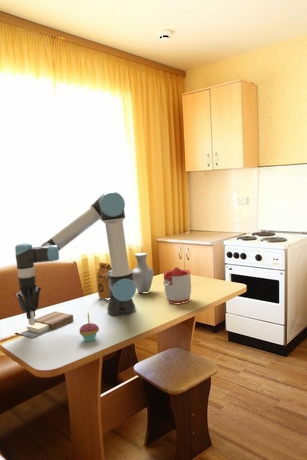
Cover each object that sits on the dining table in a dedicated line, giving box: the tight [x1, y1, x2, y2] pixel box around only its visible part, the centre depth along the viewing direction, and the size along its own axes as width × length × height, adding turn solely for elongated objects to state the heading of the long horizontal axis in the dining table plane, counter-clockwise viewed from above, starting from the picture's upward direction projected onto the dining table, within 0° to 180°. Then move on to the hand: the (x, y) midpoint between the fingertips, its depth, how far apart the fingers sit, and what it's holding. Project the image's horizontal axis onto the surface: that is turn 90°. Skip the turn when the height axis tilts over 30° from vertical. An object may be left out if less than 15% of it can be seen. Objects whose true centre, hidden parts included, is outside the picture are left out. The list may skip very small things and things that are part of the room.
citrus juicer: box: [162, 266, 192, 304], centre depth 205 cm, size 16×17×20 cm
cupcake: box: [79, 312, 100, 343], centre depth 160 cm, size 9×8×12 cm
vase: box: [131, 252, 155, 293], centre depth 228 cm, size 14×14×25 cm
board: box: [34, 311, 74, 331], centre depth 185 cm, size 14×14×3 cm
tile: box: [26, 322, 49, 333], centre depth 176 cm, size 9×6×2 cm, turn 55°
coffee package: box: [96, 262, 112, 299], centre depth 222 cm, size 10×12×22 cm
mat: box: [20, 329, 52, 339], centre depth 175 cm, size 14×11×1 cm
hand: (31, 324), depth 173 cm, fingers closed
